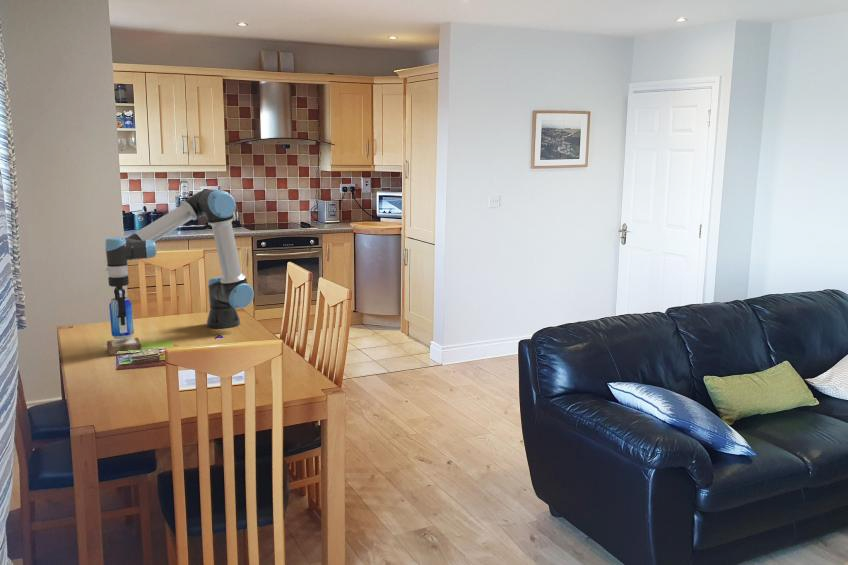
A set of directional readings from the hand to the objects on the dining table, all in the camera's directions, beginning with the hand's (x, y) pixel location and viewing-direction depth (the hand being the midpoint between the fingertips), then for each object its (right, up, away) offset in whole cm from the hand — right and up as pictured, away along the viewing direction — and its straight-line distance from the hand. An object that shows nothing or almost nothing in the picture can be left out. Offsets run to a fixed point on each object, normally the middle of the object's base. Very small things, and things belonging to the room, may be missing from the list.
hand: (122, 330), depth 297 cm
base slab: (0, -9, +1) cm, 9 cm away
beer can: (0, -3, 0) cm, 3 cm away
